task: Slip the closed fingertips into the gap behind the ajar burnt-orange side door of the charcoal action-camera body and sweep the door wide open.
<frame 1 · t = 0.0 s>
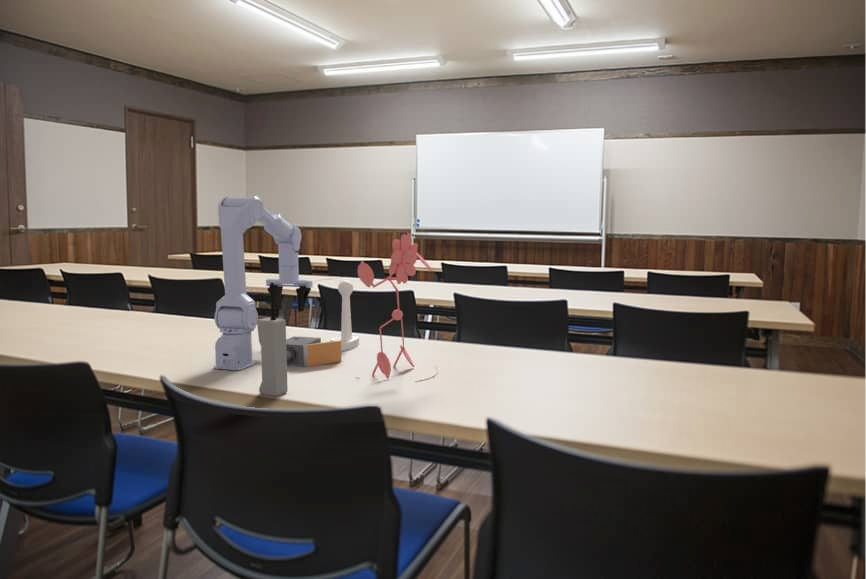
hand: (289, 310, 194), 10 cm above the table, tool pointing down, fingers open, 7 cm apart
vintage mobile phone: (273, 394, 144), on the table
figurine: (405, 375, 160), on the table
joystick: (342, 347, 191), on the table
side door: (322, 353, 170), point 3 cm above the table, hinge at 40.0°
camera body: (299, 360, 174), on the table
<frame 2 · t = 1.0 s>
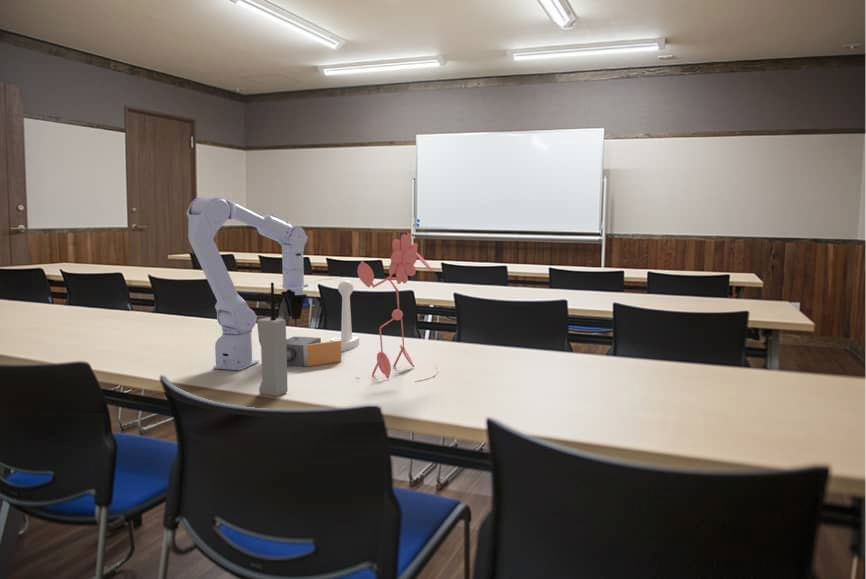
hand: (294, 317, 180), 10 cm above the table, tool pointing down, fingers open, 4 cm apart
nothing on the table moved.
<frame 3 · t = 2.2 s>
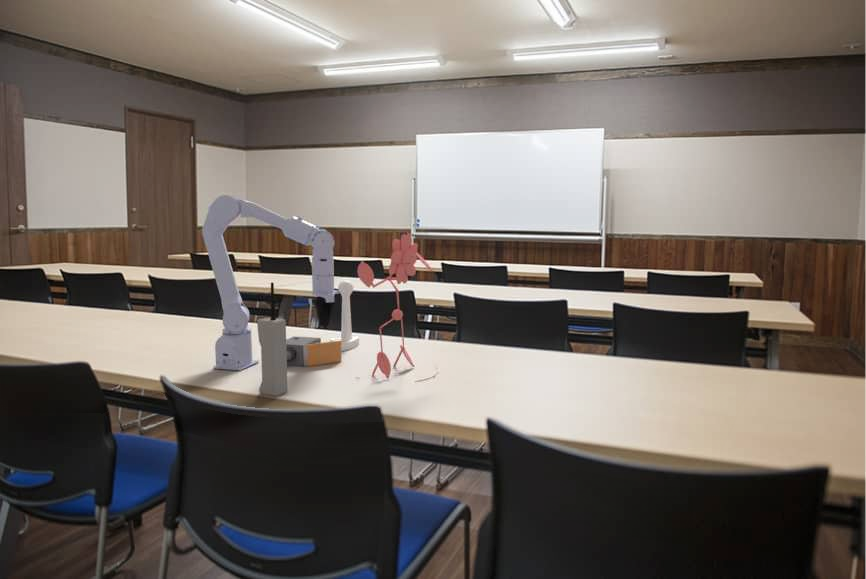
hand: (324, 325, 173), 10 cm above the table, tool pointing down, fingers closed
nothing on the table moved.
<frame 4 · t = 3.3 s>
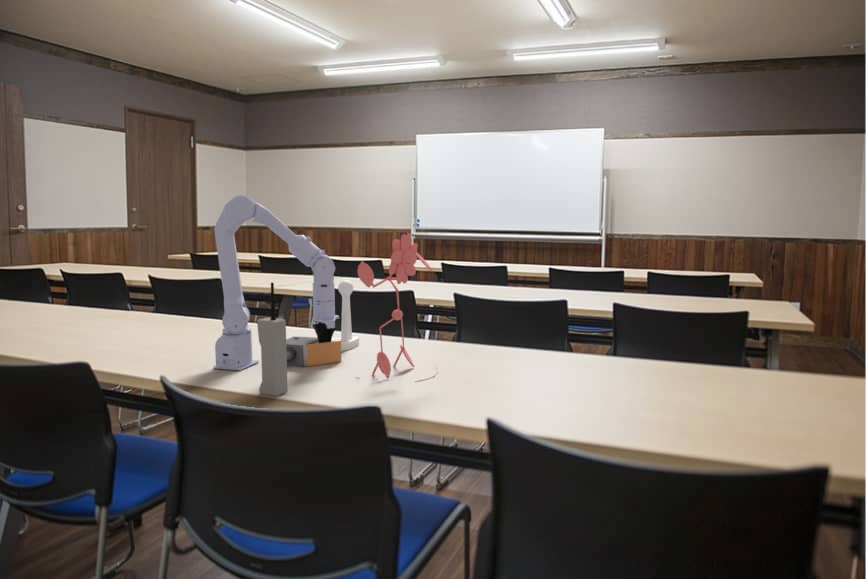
hand: (324, 350, 173), 3 cm above the table, tool pointing down, fingers closed
nothing on the table moved.
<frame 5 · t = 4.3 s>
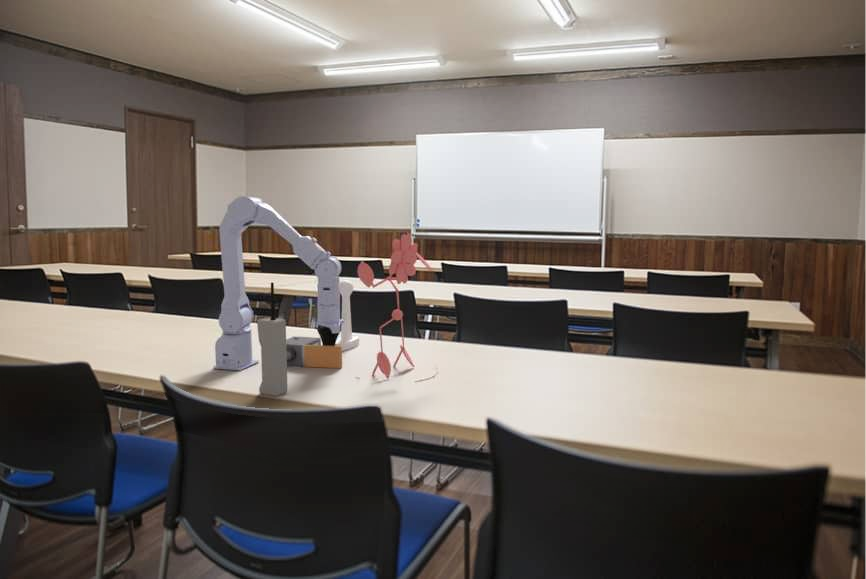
hand: (329, 355, 168), 3 cm above the table, tool pointing down, fingers closed, pressing on side door
side door: (321, 356, 166), point 3 cm above the table, hinge at 81.0°, touching gripper
everything else where it was.
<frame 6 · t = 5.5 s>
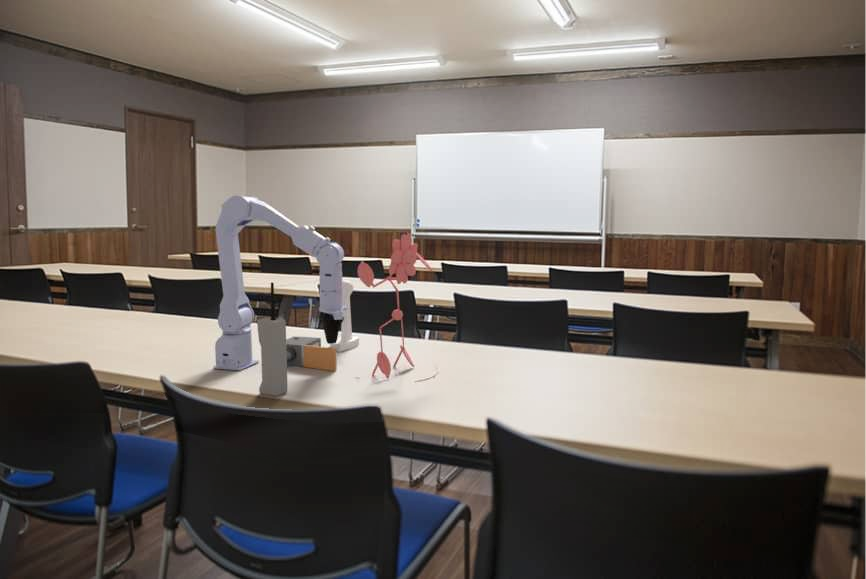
hand: (331, 342, 165), 7 cm above the table, tool pointing down, fingers closed
side door: (318, 357, 165), point 3 cm above the table, hinge at 100.0°
everything else where it was.
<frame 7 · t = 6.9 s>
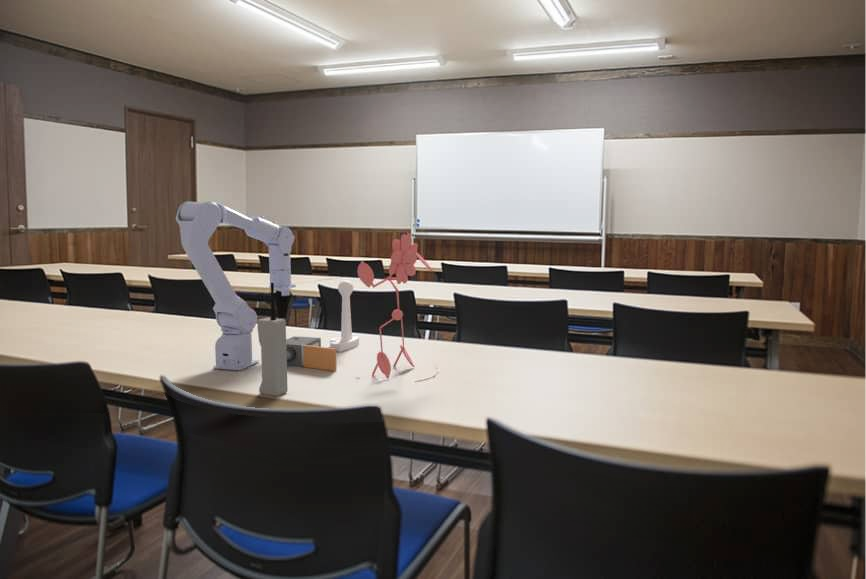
hand: (281, 318, 180), 10 cm above the table, tool pointing down, fingers closed
nothing on the table moved.
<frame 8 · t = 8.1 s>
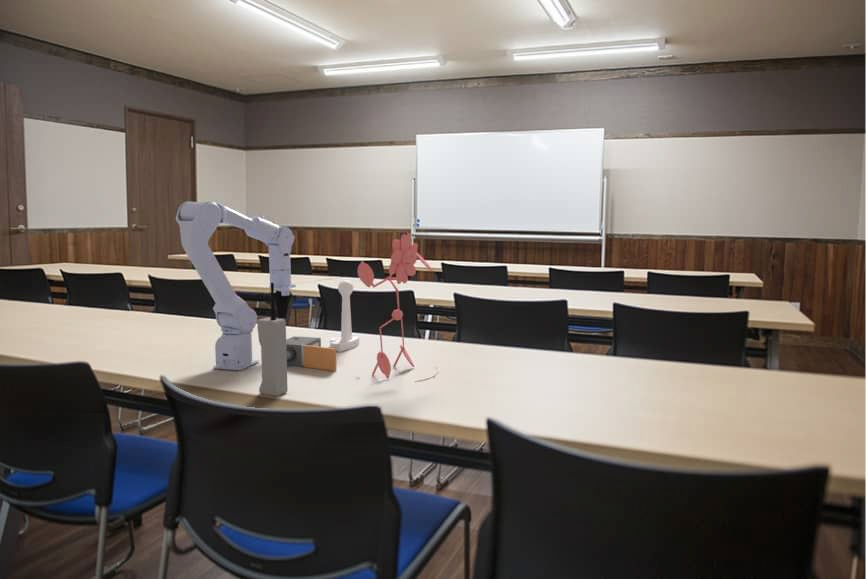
hand: (281, 318, 180), 10 cm above the table, tool pointing down, fingers closed
nothing on the table moved.
at the end: side door at +100° (first picture: +40°) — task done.
